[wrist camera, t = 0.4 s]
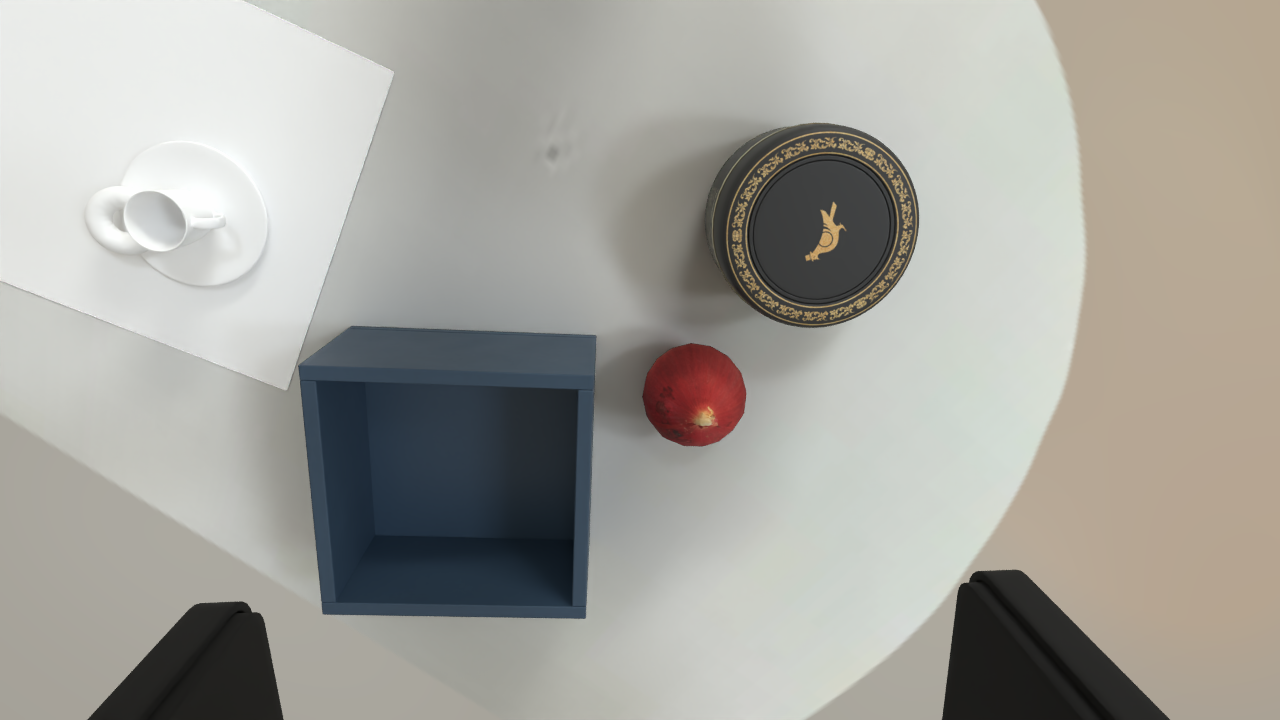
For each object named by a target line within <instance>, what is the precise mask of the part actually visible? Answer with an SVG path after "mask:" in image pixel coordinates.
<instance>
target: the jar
mask: <svg viewBox="0 0 1280 720" xmlns="http://www.w3.org/2000/svg"><path fill="white" fill-rule="evenodd" d="M705 228H706V236H707V241H708V245H709V248H710V251H711V254H712V256H713V258H714V260H715V262H716V264H717V266H718V268H719V269H720V270H721V272H722V274H723V276H724V278H725V279H726V281H727V282H728V284H729V285H730V286H731V288H732V289H733V290H734V291H735V293H736V294H737V295H738V296H739V297H740V298H741V299H742V300H743V301H745V302H746V303H747V304H748V305H750V306H751V307H752V308H754V309H755V310H757V311H758V312H760V313H761V314H763V315H764V316H766V317H768V318H770V319H772V320H775V321H777V322H780V323H783V324H787V325H791V326H797V327H806V328H817V327H827V326H832V325H836V324H840V323H843V322H846V321H849V320H851V319H853V318H856V317H858V316H860V315H862V314H863V313H865V312H867V311H868V310H870V309H871V308H873V307H874V306H875V305H876V304H878V303H879V302H880V301H881V300H882V299H883V298H885V297H886V296H887V295H888V293H889V292H890V291H891V290H892V289H893V288H894V287H895V285H896V284H897V283H898V281H899V280H900V278H901V277H902V275H903V274H904V272H905V270H906V268H907V266H908V264H909V262H910V260H911V257H912V255H913V252H914V249H915V245H916V241H917V236H918V229H919V208H918V201H917V196H916V192H915V189H914V186H913V183H912V181H911V178H910V176H909V174H908V172H907V171H906V169H905V167H904V166H903V164H902V163H901V161H900V160H899V159H898V158H897V156H896V155H895V154H894V153H893V152H892V151H891V150H890V149H889V148H888V147H886V146H885V145H884V144H883V143H881V142H880V141H879V140H877V139H876V138H874V137H872V136H870V135H868V134H866V133H864V132H862V131H859V130H856V129H853V128H850V127H846V126H841V125H835V124H829V123H808V124H799V125H795V126H791V127H784V128H779V129H775V130H772V131H769V132H766V133H763V134H761V135H759V136H757V137H755V138H754V139H752V140H750V141H749V142H747V143H746V144H744V145H743V146H742V147H741V148H739V149H738V150H737V151H736V152H735V153H734V154H733V155H732V156H731V157H730V158H729V159H728V160H727V162H726V163H725V164H724V166H723V167H722V168H721V170H720V172H719V173H718V175H717V177H716V179H715V181H714V183H713V185H712V188H711V190H710V193H709V197H708V201H707V206H706V214H705Z"/></svg>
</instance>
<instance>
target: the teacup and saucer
mask: <svg viewBox="0 0 1280 720" xmlns="http://www.w3.org/2000/svg"><path fill="white" fill-rule="evenodd" d="M213 206H217V207H218V208H213ZM116 212H118V213H119V218H120V221H121V225H122V227H123V230H120V229H119V228H118V227H117V226H116V225H115V223H114V222H113V221H114V219H113V217H114V214H115V213H116ZM84 223H85V226H86V229H87V231H88V233H89V234H90V236H91V237H92V238H93V239H94V240H95V241H96V242H97V243H98V244H99V245H100V246H102V247H103V248H104V249H106V250H108V251H110V252H112V253H115V254H119V255H124V256H135V255H140V256H141V257H142V258H143V259H144V260H145V261H146V262H147V263H148V264H149V265H150V266H151V267H152V268H154V269H155V270H156V271H158V272H159V273H161V274H163V275H164V276H166V277H168V278H170V279H172V280H174V281H177V282H180V283H183V284H186V285H190V286H196V287H217V286H222V285H226V284H229V283H232V282H234V281H236V280H238V279H240V278H241V277H243V276H244V275H246V274H247V273H248V272H249V271H250V270H251V269H252V268H253V267H254V266H255V265H256V264H257V263H258V261H259V260H260V258H261V256H262V254H263V252H264V250H265V247H266V244H267V240H268V235H269V218H268V212H267V208H266V204H265V201H264V199H263V196H262V194H261V192H260V190H259V188H258V186H257V185H256V183H255V182H254V180H253V179H252V177H251V176H250V175H249V174H248V173H247V171H246V170H245V169H244V168H243V167H242V166H241V165H240V164H239V163H237V162H236V161H235V160H234V159H233V158H231V157H230V156H228V155H227V154H225V153H224V152H222V151H220V150H218V149H216V148H214V147H212V146H209V145H207V144H204V143H200V142H196V141H190V140H171V141H165V142H161V143H158V144H155V145H153V146H151V147H149V148H147V149H145V150H144V151H142V152H141V153H140V154H138V155H137V156H136V157H135V158H134V159H133V160H132V161H131V163H130V164H129V165H128V167H127V168H126V170H125V172H124V174H123V176H122V178H121V181H120V184H119V185H114V186H108V187H105V188H102V189H100V190H98V191H97V192H95V193H94V194H93V195H92V196H91V197H90V198H89V200H88V201H87V203H86V205H85V208H84ZM211 230H217V231H219V232H213V233H209V232H210V231H211Z"/></svg>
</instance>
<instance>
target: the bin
mask: <svg viewBox="0 0 1280 720" xmlns="http://www.w3.org/2000/svg"><path fill="white" fill-rule="evenodd" d="M595 361H596V336H595V335H572V334H545V333H519V332H493V331H467V330H441V329H415V328H388V327H362V326H351V327H350V328H348V329H347V330H345V331H344V332H343V333H341V334H340V335H339V336H337V337H336V338H335V339H333V340H332V341H331V342H329V343H328V344H327V345H325V346H324V347H322V348H321V349H320V350H318V351H317V352H316V353H314V354H313V355H312V356H310V357H309V358H308V359H306V360H305V361H304V362H302V363H301V364H300V365H299V366H298V367H299V377H300V386H301V397H302V407H303V417H304V427H305V437H306V448H307V458H308V468H309V478H310V488H311V499H312V509H313V519H314V529H315V540H316V550H317V560H318V570H319V580H320V591H321V601H322V612H323V614H327V615H389V616H451V617H512V618H574V619H585V618H586V602H587V581H588V560H589V537H590V508H591V479H592V449H593V420H594V391H595Z"/></svg>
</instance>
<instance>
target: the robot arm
mask: <svg viewBox="0 0 1280 720" xmlns="http://www.w3.org/2000/svg"><path fill="white" fill-rule="evenodd" d="M88 720H283V715H282V710H281V705H280V699H279V694H278V689H277V684H276V679H275V674H274V669H273V664H272V659H271V653H270V648H269V643H268V638H267V633H266V628H265V623H264V619H263V617H262V616H261V614H260V613H257V612H254V613H252V611H251V608H250V607H249V606H248V604H247V603H244V602H219V603H200V604H196V605H194V606H193V607H192V608H190V609H189V610H188V611H187V612H186V613H185V615H183V617H182V618H181V619H180V620H179V621H178V622H177V623H176V624H175V625H174V627H172V628H171V630H170V631H169V632H168V633H167V634H166V635H165V636H164V637H163V638H162V639H161V640H160V641H159V643H158V644H157V645H156V646H155V647H154V648H153V649H152V650H151V651H150V652H149V653H148V655H147V656H146V657H145V658H144V659H143V660H142V661H141V662H140V663H139V664H138V666H137V667H136V668H135V669H134V670H133V671H132V672H131V673H130V674H129V675H128V676H127V677H126V679H125V680H124V681H123V682H122V683H121V684H120V685H119V686H118V687H117V688H116V689H115V690H114V691H113V692H112V694H111V695H110V696H109V697H108V698H107V699H106V700H105V701H104V702H103V703H102V704H101V706H100V707H99V708H98V709H97V710H96V711H95V712H94V713H93V714H92V715H91V717H90V718H89V719H88ZM942 720H1170V719H1169V718H1168V717H1167V716H1166V715H1165V714H1164V713H1163V712H1162V711H1161V710H1160V709H1159V708H1158V707H1157V706H1156V705H1155V704H1154V703H1153V702H1152V701H1151V700H1150V699H1149V698H1148V697H1147V696H1146V695H1145V694H1144V693H1143V692H1142V691H1141V690H1140V689H1139V688H1138V687H1137V686H1136V685H1135V684H1134V683H1133V682H1132V681H1131V680H1130V679H1129V678H1128V677H1127V676H1126V675H1125V674H1124V673H1123V672H1122V671H1121V670H1120V669H1119V668H1118V667H1117V666H1116V665H1115V664H1114V663H1113V662H1112V661H1111V660H1110V659H1109V658H1108V657H1107V656H1106V655H1105V654H1104V653H1103V652H1102V651H1101V650H1100V649H1099V648H1098V647H1097V646H1096V645H1095V644H1094V643H1093V642H1092V641H1091V640H1090V639H1089V638H1088V637H1087V636H1086V635H1085V634H1084V633H1083V632H1082V631H1081V629H1079V627H1078V626H1077V625H1076V624H1075V623H1073V621H1072V620H1070V618H1069V617H1068V616H1067V615H1066V614H1064V612H1063V611H1062V610H1061V609H1060V608H1059V607H1058V606H1057V605H1056V604H1055V603H1054V602H1053V601H1052V600H1051V599H1050V598H1049V597H1048V596H1047V595H1046V594H1045V593H1044V592H1043V591H1042V590H1041V589H1040V588H1039V587H1038V586H1037V585H1036V584H1035V583H1034V582H1033V581H1032V580H1031V579H1030V578H1029V577H1028V576H1027V575H1026V574H1024V573H1023V572H1022V571H1019V570H997V571H977V572H975V573H973V574H972V576H971V578H970V581H969V583H963V584H961V585H960V587H959V590H958V595H957V604H956V611H955V619H954V627H953V636H952V644H951V652H950V660H949V669H948V677H947V684H946V693H945V701H944V709H943V717H942Z"/></svg>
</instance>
